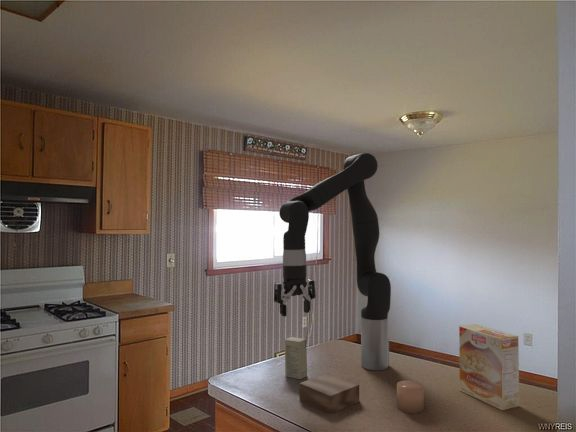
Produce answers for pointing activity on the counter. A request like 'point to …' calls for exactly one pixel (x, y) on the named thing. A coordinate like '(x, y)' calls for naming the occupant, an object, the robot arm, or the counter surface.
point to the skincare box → (295, 358)
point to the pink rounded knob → (410, 396)
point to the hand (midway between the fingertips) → (295, 314)
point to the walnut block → (329, 393)
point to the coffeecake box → (489, 365)
